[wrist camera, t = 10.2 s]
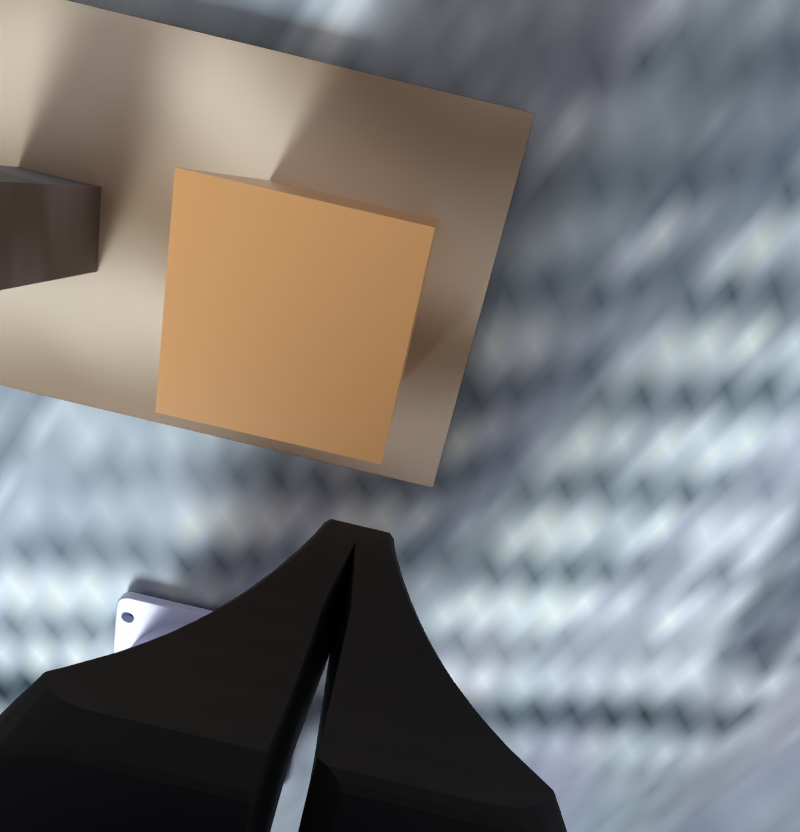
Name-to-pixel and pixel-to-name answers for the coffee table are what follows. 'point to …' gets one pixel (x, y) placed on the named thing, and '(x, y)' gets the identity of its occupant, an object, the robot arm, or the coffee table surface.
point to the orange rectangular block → (288, 311)
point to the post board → (226, 154)
